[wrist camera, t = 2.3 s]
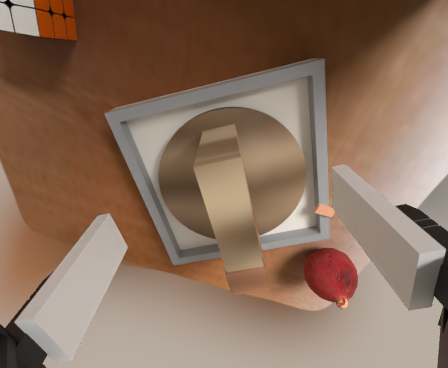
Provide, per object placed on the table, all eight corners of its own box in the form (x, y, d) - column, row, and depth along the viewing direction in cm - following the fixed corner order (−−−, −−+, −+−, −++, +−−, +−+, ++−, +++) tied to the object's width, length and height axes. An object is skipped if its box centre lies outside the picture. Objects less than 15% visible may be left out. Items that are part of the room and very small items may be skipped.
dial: (137, 127, 23) (91, 166, 15) (297, 89, 21) (343, 109, 13) (185, 244, 30) (171, 314, 22) (308, 222, 28) (342, 289, 20)
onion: (314, 228, 31) (342, 280, 23) (350, 243, 32) (386, 297, 25) (289, 258, 33) (307, 314, 26) (323, 271, 34) (349, 328, 27)
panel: (115, 107, 23) (101, 114, 21) (320, 56, 21) (334, 56, 19) (177, 252, 32) (173, 269, 30) (326, 225, 30) (336, 242, 28)
